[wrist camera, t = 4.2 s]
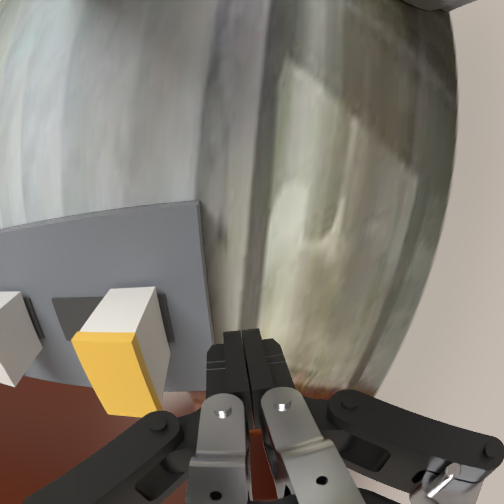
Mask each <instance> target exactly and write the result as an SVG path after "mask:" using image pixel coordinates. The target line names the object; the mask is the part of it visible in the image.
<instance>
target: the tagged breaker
mask: <svg viewBox="0 0 504 504" xmlns="http://www.w3.org/2000/svg"><path fill="white" fill-rule="evenodd" d="M71 342H72V344H73V347H74V349H75V351H76V354H77V356H78V358H79V360H80V362H81V365H82V367H83V369H84V371H85V373H86V375H87V377H88V379H89V381H90V383H91V385H92V387H93V389H94V391H95V392H96V394H97V396H98V398H99V400H100V401H101V403H102V405H103V407H104V408H105V410H106V412H107V413H108V414H111V415H121V416H132V417H144V416H145V415H146V414H148V413H150V412H153V411H162V407H161V403H162V397H163V391H164V385H165V380H166V375H167V369H168V364H169V359H170V354H171V353H170V349H169V345H168V341H167V337H166V333H165V329H164V325H163V320H162V316H161V311H160V306H159V302H158V297H157V292H156V287H155V286H154V287H136V288H116V289H110V290H109V291H108V293H107V294H106V295H105V297H104V298H103V299H102V301H101V302H100V303H99V305H98V306H97V307H96V309H95V310H94V311H93V313H92V314H91V316H90V317H89V318H88V320H87V321H86V323H85V324H84V325H83V327H82V328H81V330H80V331H79V332H76V334H75V335H74V337H73V338H72V340H71Z"/></svg>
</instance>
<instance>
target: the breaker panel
mask: <svg viewBox="0 0 504 504" xmlns="http://www.w3.org/2000/svg"><path fill="white" fill-rule="evenodd" d="M154 286H155V287H156V292H157V297H158V302H159V306H160V311H161V316H162V320H163V325H164V329H165V333H166V337H167V341H168V345H169V349H170V353H171V354H170V359H169V364H168V369H167V375H166V380H165V385H164V391H169V392H170V391H206V370H207V369H206V364H207V352H208V350H209V348H210V347H211V345H214V344H215V338H214V331H213V323H212V316H211V308H210V300H209V291H208V283H207V274H206V265H205V255H204V245H203V234H202V223H201V211H200V200H195V201H183V202H173V203H163V204H154V205H145V206H136V207H128V208H120V209H113V210H105V211H98V212H92V213H85V214H79V215H72V216H66V217H60V218H55V219H49V220H44V221H38V222H33V223H28V224H23V225H18V226H13V227H8V228H4V229H0V292H13V291H21V294H22V297H23V300H24V303H25V306H26V308H27V311H28V314H29V317H30V319H31V322H32V324H33V327H34V329H35V331H36V334H37V336H38V338H39V341H40V343H41V345H42V347H43V348H42V350H41V351H40V352H39V354H38V355H37V356H36V358H35V359H34V361H33V362H32V363H31V365H30V366H29V368H28V369H27V371H26V372H25V373H24V375H23V376H27V377H32V378H36V379H42V380H47V381H52V382H58V383H64V384H70V385H78V386H85V387H92V385H91V383H90V381H89V379H88V377H87V375H86V373H85V371H84V369H83V367H82V365H81V362H80V360H79V358H78V356H77V354H76V351H75V349H74V347H73V344H72V342H71V340H72V338H73V337H74V335H75V334H76V332H79V331H80V330H81V328H82V327H83V325H84V324H85V323H86V321H87V320H88V318H89V317H90V316H91V314H92V313H93V311H94V310H95V309H96V307H97V306H98V305H99V303H100V302H101V301H102V299H103V298H104V297H105V295H106V294H107V293H108V291H109V290H110V289H116V288H136V287H154Z"/></svg>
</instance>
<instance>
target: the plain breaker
mask: <svg viewBox="0 0 504 504" xmlns="http://www.w3.org/2000/svg"><path fill="white" fill-rule="evenodd" d="M42 348H43V347H42V345H41V343H40V341H39V338H38V336H37V334H36V331H35V329H34V327H33V324H32V322H31V319H30V317H29V314H28V311H27V308H26V306H25V303H24V300H23V297H22V294H21V291H13V292H0V383H3V384H7V385H9V386H13V387H16V385H17V384H18V382H19V381H20V379H21V378H22V376H23V375H24V373H25V372H26V371H27V369H28V368H29V366H30V365H31V363H32V362H33V361H34V359H35V358H36V356H37V355H38V354H39V352H40V351H41V350H42Z"/></svg>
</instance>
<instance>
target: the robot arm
mask: <svg viewBox="0 0 504 504" xmlns="http://www.w3.org/2000/svg"><path fill="white" fill-rule="evenodd" d="M403 1H405V2H407V3H408V4H411V5H413V6H415V7H417V8H421V9H424V10H436V9H442V10H444V11H446V12H449V11H451V10H454V9H456V8H458V7H461V6H463V5H466V4H468V3H471V2H474V1H476V0H403ZM223 337H224V344H214V345H211V347H210V348H209V350H208V352H207V364H206V369H207V370H206V400H205V401H204V403H203V404H202V407H201V408H200V409H199V410H197V411H196V412H194V413H191V414H189V415H185V416H181V417H176V416H175V415H174V414H172V413H170V412H167V411H153V412H150V413H148V414H146V415H145V416H144V417H142V418H141V419H140V420H139V421H137V422H136V423H135V424H133V425H132V426H131V427H129V428H128V429H127V430H126V431H124V432H123V433H122V434H120V435H119V436H118V437H116V438H115V439H114V440H112V441H111V442H109V443H108V444H107V445H105V446H104V447H103V448H101V449H100V450H98V451H97V452H96V453H94V454H93V455H91V456H90V457H89V458H87V459H86V460H85V461H83V462H81V463H80V464H79V465H77V466H76V467H75V468H73V469H71V470H70V471H68V472H67V473H65V474H64V475H62V476H61V477H59V478H58V479H56V480H55V481H53V482H51V483H50V484H48V485H47V486H45V487H43V488H42V489H40V490H38V491H37V492H35V493H33V494H32V495H30V496H29V497H27V498H26V499H25V500H24V502H23V504H160V503H162V502H163V501H164V500H165V499H166V498H167V497H168V496H170V495H171V494H172V493H173V492H174V491H175V490H176V489H177V488H178V487H179V486H180V485H181V484H182V483H183V482H184V481H185V480H186V479H188V482H187V491H186V502H185V504H400V503H398V502H395V501H393V500H390V499H388V498H386V497H384V496H381V495H379V494H377V493H375V492H372V491H369V490H366V489H362V488H357V486H356V484H355V482H354V481H353V479H352V477H351V475H350V473H349V471H348V470H347V468H349V469H351V470H354V471H356V472H358V473H360V474H362V475H364V476H367V477H369V478H371V479H374V480H376V481H379V482H381V483H383V484H386V485H388V486H391V487H394V488H396V489H399V490H402V491H404V492H407V493H410V494H409V499H410V502H411V504H475V503H476V501H477V498H478V495H479V492H480V489H481V486H482V484H483V481H484V479H485V478H486V477H487V476H488V475H489V474H491V473H492V472H493V471H494V470H495V469H496V468H497V467H498V466H499V465H500V464H501V463H502V461H503V459H504V445H503V443H502V442H501V441H500V440H499V439H498V438H496V437H493V436H489V435H484V434H481V433H477V432H473V431H470V430H466V429H463V428H459V427H455V426H452V425H449V424H446V423H443V422H440V421H436V420H433V419H430V418H427V417H424V416H422V415H419V414H416V413H413V412H410V411H407V410H405V409H402V408H399V407H397V406H394V405H391V404H389V403H386V402H384V401H381V400H379V399H376V398H374V397H371V396H369V395H367V394H364V393H362V392H359V391H356V390H350V389H349V390H342V391H339V392H337V393H335V394H334V395H333V396H332V397H331V398H330V400H322V399H311V398H307V397H305V396H303V395H301V393H300V392H298V391H297V390H296V389H295V387H294V384H293V381H292V378H291V375H290V372H289V369H288V367H287V364H286V362H285V358H284V355H283V352H282V349H281V346H280V345H279V344H278V343H277V342H276V341H275V340H274V339H273V338H272V339H264V340H262V338H261V334H260V331H259V328H258V329H249V330H242V338H241V332H240V330H239V331H229V332H223ZM242 341H243V345H242ZM251 407H252V409H251ZM252 413H253V419H254V425H255V429H260V428H261V431H262V436H263V446H264V449H265V453H266V456H267V459H268V462H269V466H270V469H271V472H272V475H273V478H274V481H275V485H276V490H277V495H278V500H275V501H272V502H259V501H253V500H252V491H251V474H250V457H249V456H250V455H249V444H250V436H249V430H253V420H252Z"/></svg>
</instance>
